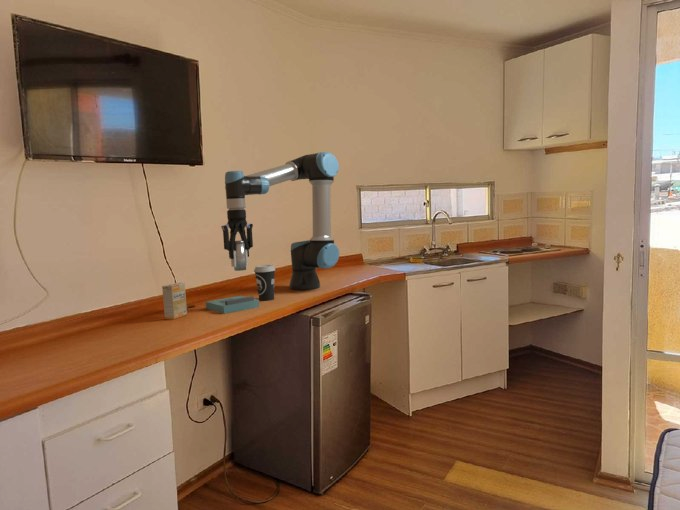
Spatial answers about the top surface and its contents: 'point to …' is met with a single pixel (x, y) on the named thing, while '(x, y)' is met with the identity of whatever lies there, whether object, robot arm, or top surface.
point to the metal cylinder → (240, 255)
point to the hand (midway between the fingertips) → (239, 265)
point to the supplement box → (174, 300)
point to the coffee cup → (265, 281)
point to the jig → (232, 304)
